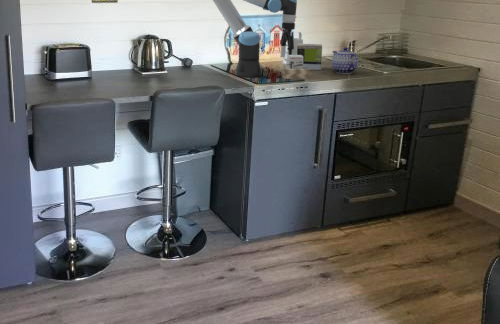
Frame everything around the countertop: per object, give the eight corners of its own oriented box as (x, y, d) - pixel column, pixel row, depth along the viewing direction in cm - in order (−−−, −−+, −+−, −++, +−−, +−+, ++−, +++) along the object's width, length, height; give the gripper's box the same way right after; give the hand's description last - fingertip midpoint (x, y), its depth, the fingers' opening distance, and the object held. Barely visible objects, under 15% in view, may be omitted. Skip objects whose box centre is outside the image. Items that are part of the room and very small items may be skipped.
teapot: (366, 75, 335) (369, 49, 330) (344, 77, 329) (346, 50, 324) (343, 68, 356) (345, 44, 352) (321, 69, 350) (323, 44, 346)
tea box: (320, 67, 357) (322, 43, 352) (320, 70, 347) (322, 45, 342) (296, 66, 358) (297, 42, 353) (296, 69, 349) (297, 44, 344)
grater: (282, 62, 371) (284, 31, 364) (297, 62, 375) (298, 31, 368) (289, 65, 362) (291, 33, 355) (304, 64, 366) (306, 32, 359)
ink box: (288, 77, 323) (289, 56, 320) (285, 75, 328) (286, 54, 324) (302, 77, 325) (303, 56, 322) (300, 75, 330) (301, 54, 326)
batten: (283, 78, 318) (284, 69, 316) (282, 77, 321) (282, 68, 319) (309, 78, 321) (310, 69, 320) (307, 77, 324) (308, 68, 323)
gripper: (301, 24, 320) (298, 62, 327) (288, 20, 343) (286, 55, 350) (288, 24, 319) (285, 62, 325) (276, 19, 342) (274, 55, 348)
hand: (285, 59), depth 338 cm, fingers open, 13 cm apart
